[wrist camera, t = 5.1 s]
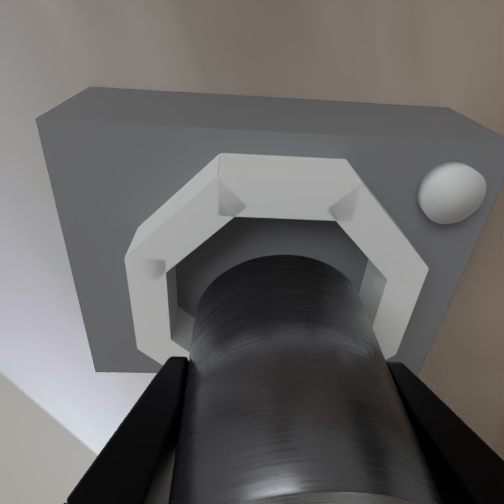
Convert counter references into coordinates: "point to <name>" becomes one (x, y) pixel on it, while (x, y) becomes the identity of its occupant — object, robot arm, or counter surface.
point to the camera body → (261, 207)
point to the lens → (292, 396)
